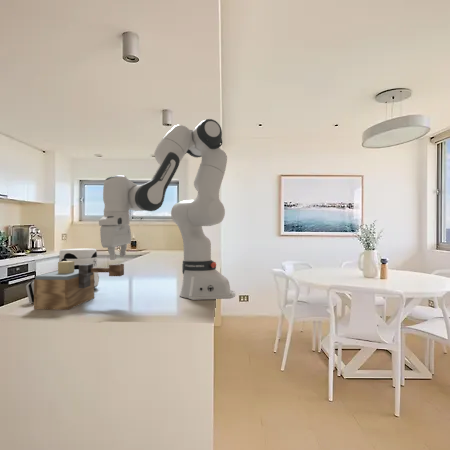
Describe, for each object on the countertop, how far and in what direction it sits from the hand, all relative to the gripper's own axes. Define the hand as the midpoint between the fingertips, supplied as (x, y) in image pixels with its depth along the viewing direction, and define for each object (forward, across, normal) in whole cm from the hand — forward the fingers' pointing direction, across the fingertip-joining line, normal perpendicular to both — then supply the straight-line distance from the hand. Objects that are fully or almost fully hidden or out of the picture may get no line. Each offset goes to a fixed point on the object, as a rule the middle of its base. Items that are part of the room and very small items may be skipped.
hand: (118, 258), depth 129 cm
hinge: (+16, -6, -32) cm, 36 cm away
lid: (+6, 0, -20) cm, 21 cm away
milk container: (+17, -26, -29) cm, 42 cm away
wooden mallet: (+6, +1, -4) cm, 7 cm away
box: (+16, +1, -18) cm, 24 cm away
